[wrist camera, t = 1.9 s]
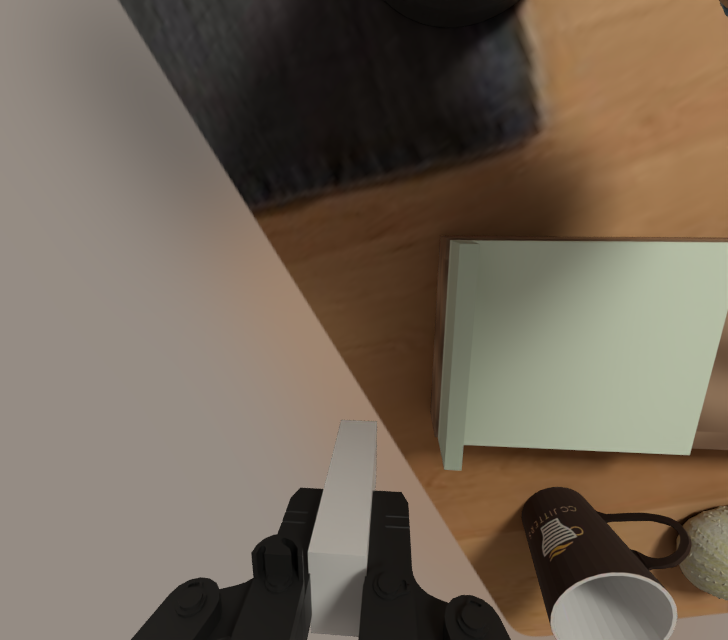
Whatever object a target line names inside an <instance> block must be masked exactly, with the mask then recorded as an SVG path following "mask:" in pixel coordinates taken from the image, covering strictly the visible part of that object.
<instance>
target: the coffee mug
mask: <svg viewBox="0 0 728 640" xmlns="http://www.w3.org/2000/svg"><path fill="white" fill-rule="evenodd" d="M622 521H654V522H658V523H662V524H666V525H669V526H672V527H673V528H675V529H676V530H677V531H678V533H679V536H680V544H679V547H678V549H677V550H676V552H674V553H673V554H672V555H670V556H668V557H665V558H651V557H648V556H645V555H643V554H641V553H639V552H637V551H635V550H631V549H629V548H628V546H627V545H626V544H625V543H624V542H623V541H622V540H621V539H620V537H619V536H618V535H617V534H616V533H615V532H614V531H613V530H612V529H611V527H610V526H609V525H608V524H607V523H608V522H622ZM522 522H523V526H524V529H525V533H526V537H527V541H528V544H529V548H530V552H531V555H532V559H533V563H534V566H535V570H536V574H537V578H538V581H539V585H540V589H541V592H542V596H543V600H544V603H545V607H546V611H547V615H548V618H549V622H550V626H551V629H552V632H553V634H554V637H555V638H556V640H668V639H669V637H670V636H671V635H672V633H673V631H674V629H675V626H676V622H677V607H676V605H675V602H674V600H673V598H672V597H671V595H670V594H669V593H668V591H667V590H666V589H665V588H664V587H663V586H662V584H661V583H660V582H659V581H658V580H657V579H656V578H655V577H654V575H653V574H652V573H651V572H650V571H649V570H652V569H664V568H671V567H675V566H677V565H679V564H680V563H681V562H683V561H684V560H685V559H686V557H687V556H688V555H689V553H690V550H691V546H692V542H691V539H690V537H689V535H688V533H687V532H686V530H685V529H684V528H683V526H682V525H681V524H679V523H678V522H677V521H675V520H673V519H671V518H668V517H665V516H661V515H656V514H649V513H620V514H619V513H618V514H604V513H601V512H597V511H596V510H594V508H593V507H592V506H591V505H590V504H589V503H588V502H587V501H586V499H585V498H584V497H583V496H582V495H580V494H579V493H578V492H576V491H574V490H571V489H568V488H563V487H552V488H547V489H544V490H541V491H539V492H537V493H535V494H534V495H533V496H531V497H530V498H529V499H528V500H527V502H526V503H525V505H524V507H523V510H522Z"/></svg>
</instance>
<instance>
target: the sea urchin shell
mask: <svg viewBox="0 0 728 640" xmlns="http://www.w3.org/2000/svg"><path fill="white" fill-rule="evenodd" d="M683 528H684V529H685V530H686V532H687V533H688V535H689V537H690V539H691V542H692V546H691V550H690V553H689V555H688V556H687V557H686V559H685V560H684V561H683V562H681V563H680V564H679V565H680V568H681V571H682V573H683V574H684V575H685V577H687V579H688V580H689V581H690V582H692V584H693V585H695V586H696V587H697V588H699V589H700V590H703V591H704V592H707V593H709V594H712V595H713V596H716V597H718V598H719V599H720V598H722V599H724V600H728V506H723V507H722V506H720V507H718V508H715V509H712V510H708V511H702V512H701V513H699V514H698V515H697V516H695V517H692V518H690V519H688V521H687V522H686V523H685V524H683ZM676 539H677V548H676V550H677V549H678V547H679V544H680V536H679V535H678V537H677V538H676Z"/></svg>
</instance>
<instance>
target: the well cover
mask: <svg viewBox="0 0 728 640" xmlns="http://www.w3.org/2000/svg"><path fill="white" fill-rule="evenodd" d="M727 311H728V242H633V241H506V240H450V252H449V268H448V284H447V300H446V317H445V333H444V349H443V365H442V381H441V397H440V413H439V429H438V441H439V446H440V451H441V455H442V460H443V465H444V470H462V458H463V446H464V445H478V446H499V447H521V448H543V449H565V450H587V451H609V452H631V453H653V454H675V455H690V452H691V448H692V445H693V441H694V437H695V433H696V429H697V426H698V422H699V418H700V414H701V410H702V406H703V403H704V399H705V395H706V391H707V387H708V384H709V380H710V376H711V372H712V368H713V365H714V361H715V357H716V353H717V349H718V346H719V342H720V338H721V334H722V330H723V326H724V323H725V319H726V315H727Z"/></svg>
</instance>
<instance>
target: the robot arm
mask: <svg viewBox="0 0 728 640" xmlns="http://www.w3.org/2000/svg"><path fill="white" fill-rule="evenodd" d="M384 1H385V2H386V3H387V4H389V5H390V6H391V7H392V8H393V9H395V10H396V11H398V12H399V13H401V14H402V15H404V16H406V17H408V18H410V19H412V20H414V21H417V22H419V23H423V24H426V25H430V26H436V27H462V26H468V25H472V24H476V23H479V22H482V21H485V20H488V19H490V18H492V17H494V16H496V15H498V14H500V13H502V12H503V11H505V10H507V9H508V8H510V7H511V6H512V5H514V4H515V3H516V2H518V1H519V0H384ZM719 1H720V4H721V6H722V8H723V10H724V13H725V15H726V16H727V17H728V0H719ZM376 447H377V421H355V420H353V421H352V420H341V423H340V427H339V431H338V435H337V439H336V443H335V447H334V451H333V455H332V458H331V463H330V466H329V471H328V474H327V478H326V482H325V486H324V489H313V488H300V489H299V490H298V491H297V492H296V493H295V494H294V495H293V496H292V497H291V499H290V501H289V504H288V507H287V510H286V513H285V515H284V518H283V522H282V523H281V526H280V529H279V531H278V534H277V535H272V536H270V537H267V538H265V539H264V540H262V541H261V542H260V543H259V544H257V545H256V547H255V548H254V550H253V551H252V565H253V576H254V578H252V579H250V580H249V581H247V582H245V583H242V584H239V585H236V586H232V587H227V588H223V589H219V588H218V585H217V583H216V582H214V581H213V580H211V579H208V578H196V579H192V580H189V581H187V582H185V583H183V584H181V585H179V586H178V587H177V588H176V589H175V590H174V591H173V592H172V593H170V594H169V596H168V597H167V598H166V599H165V600H164V601H163V603H162V604H161V605H160V606H159V607H158V609H157V610H156V611H155V612H154V614H152V616H151V617H150V618H149V619H148V620H147V621H146V623H145V624H144V625H143V626H142V627H141V628H140V630H139V631H138V632H137V633H136V634H135V636H134V637H133V638H132V639H131V640H307V637H308V633H309V627H310V623H311V633H319V634H331V635H343V636H356V637H359V640H511V639H510V637H509V635H508V633H507V631H506V629H505V627H504V625H503V623H502V621H501V619H500V618H499V616H498V614H497V613H496V612H495V610H494V609H493V607H491V606H490V605H489V604H488V603H486V602H485V601H484V600H482V599H479V598H477V597H475V596H471V595H461V596H458V597H456V598H453V599H452V600H451V601H450V602H449V603H447V602H444V601H441V600H439V599H437V598H435V597H433V596H431V595H429V594H427V593H426V592H425V591H424V590H423V589H421V587H420V586H419V585H418V584H417V582H416V580H415V578H414V576H413V571H412V563H411V562H412V561H411V546H410V545H411V544H410V526H409V508H408V502H407V500H406V499H405V497H404V495H403V494H402V492H390V491H389V492H388V491H375V487H376Z"/></svg>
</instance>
